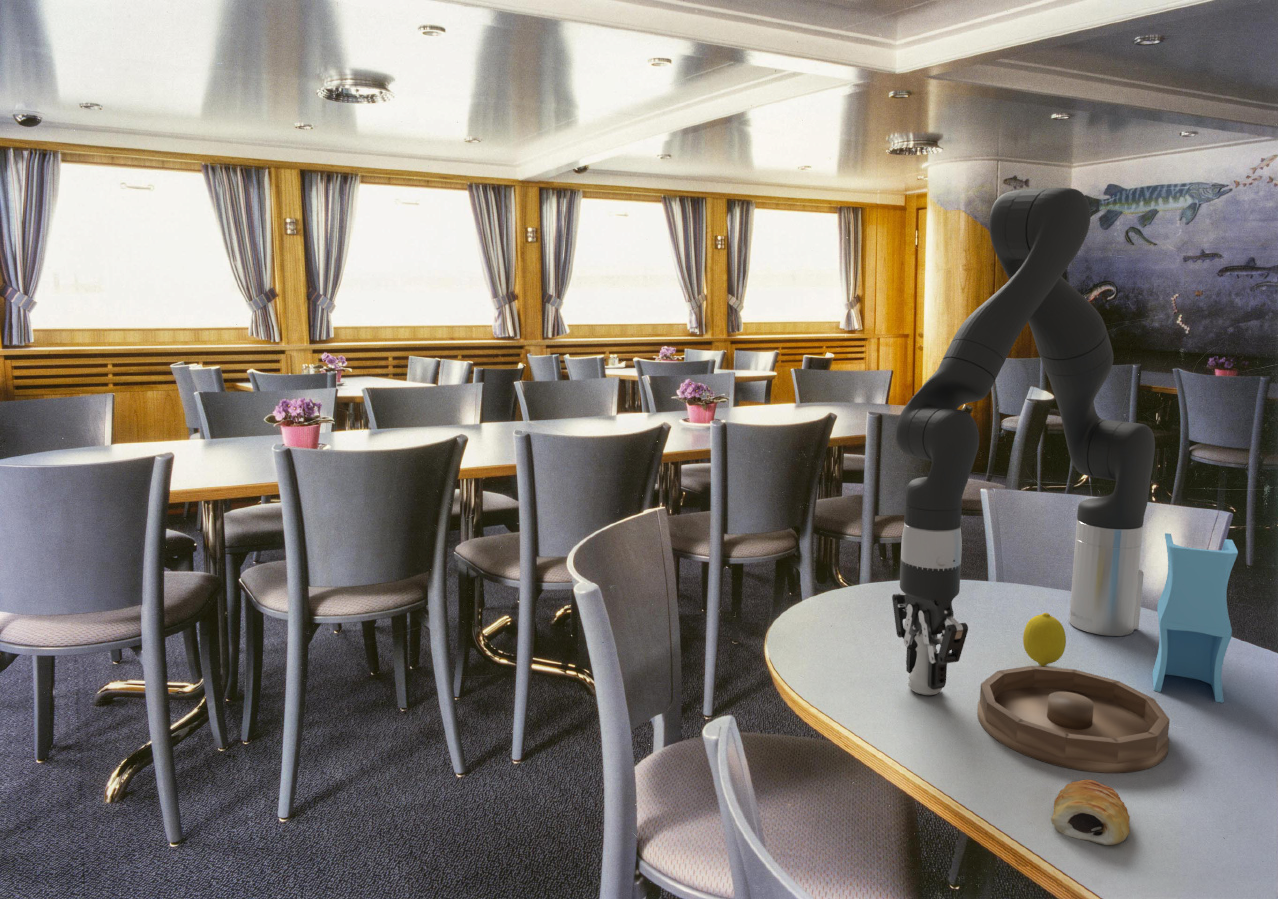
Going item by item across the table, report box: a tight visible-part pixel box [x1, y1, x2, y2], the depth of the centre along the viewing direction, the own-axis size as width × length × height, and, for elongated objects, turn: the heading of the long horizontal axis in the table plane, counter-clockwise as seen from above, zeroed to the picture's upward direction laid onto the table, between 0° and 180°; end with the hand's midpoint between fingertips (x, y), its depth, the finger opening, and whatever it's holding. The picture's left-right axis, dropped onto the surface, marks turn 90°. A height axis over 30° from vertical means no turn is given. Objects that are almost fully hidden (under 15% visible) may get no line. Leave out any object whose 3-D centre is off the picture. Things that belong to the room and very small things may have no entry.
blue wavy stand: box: [1151, 532, 1239, 703], centre depth 116 cm, size 8×8×20 cm
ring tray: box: [977, 665, 1171, 774], centre depth 106 cm, size 21×21×4 cm
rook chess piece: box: [907, 630, 943, 696], centre depth 116 cm, size 4×4×8 cm
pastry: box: [1050, 779, 1131, 846], centre depth 88 cm, size 9×7×4 cm
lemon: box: [1022, 612, 1067, 667], centre depth 124 cm, size 6×6×8 cm
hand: (925, 679), depth 117 cm, fingers closed on rook chess piece, 4 cm apart
